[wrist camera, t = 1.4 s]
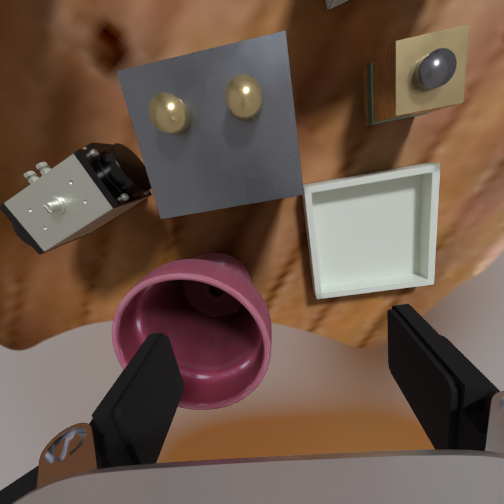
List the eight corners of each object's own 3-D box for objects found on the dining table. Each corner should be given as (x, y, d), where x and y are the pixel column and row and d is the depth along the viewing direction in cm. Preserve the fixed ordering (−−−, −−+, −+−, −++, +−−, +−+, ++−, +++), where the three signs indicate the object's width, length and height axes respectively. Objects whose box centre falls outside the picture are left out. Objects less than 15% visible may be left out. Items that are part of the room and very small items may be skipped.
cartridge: (362, 70, 26) (401, 34, 18) (416, 59, 25) (481, 15, 18) (364, 127, 27) (401, 114, 20) (415, 117, 27) (473, 100, 19)
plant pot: (145, 249, 33) (77, 300, 21) (250, 216, 31) (239, 253, 19) (189, 339, 38) (152, 423, 26) (283, 315, 35) (291, 396, 23)
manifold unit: (183, 110, 28) (100, 61, 14) (277, 89, 27) (287, 15, 13) (204, 198, 31) (153, 230, 17) (289, 183, 30) (308, 204, 16)
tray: (301, 185, 30) (303, 187, 27) (425, 163, 28) (440, 163, 26) (312, 289, 34) (316, 299, 31) (421, 275, 32) (433, 284, 30)
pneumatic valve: (178, 183, 30) (126, 198, 19) (102, 230, 33) (16, 267, 21) (150, 138, 29) (75, 125, 17) (73, 190, 31) (-37, 208, 20)
